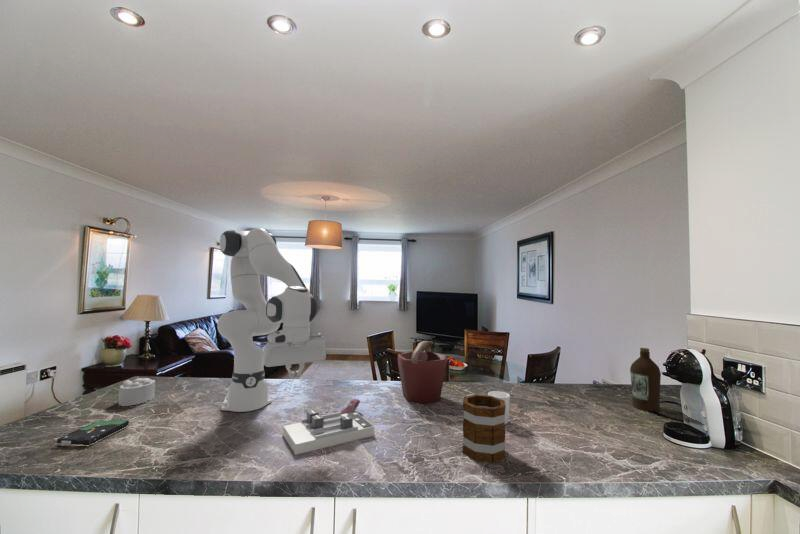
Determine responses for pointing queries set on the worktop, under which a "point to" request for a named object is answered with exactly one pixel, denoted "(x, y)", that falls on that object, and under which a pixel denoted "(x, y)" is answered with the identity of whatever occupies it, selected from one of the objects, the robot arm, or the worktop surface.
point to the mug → (484, 428)
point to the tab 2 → (346, 422)
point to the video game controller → (351, 406)
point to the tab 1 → (310, 414)
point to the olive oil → (645, 382)
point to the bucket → (422, 374)
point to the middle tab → (317, 421)
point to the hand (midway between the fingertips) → (294, 377)
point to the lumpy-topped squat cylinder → (136, 391)
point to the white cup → (504, 397)
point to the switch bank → (326, 433)
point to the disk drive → (93, 432)
